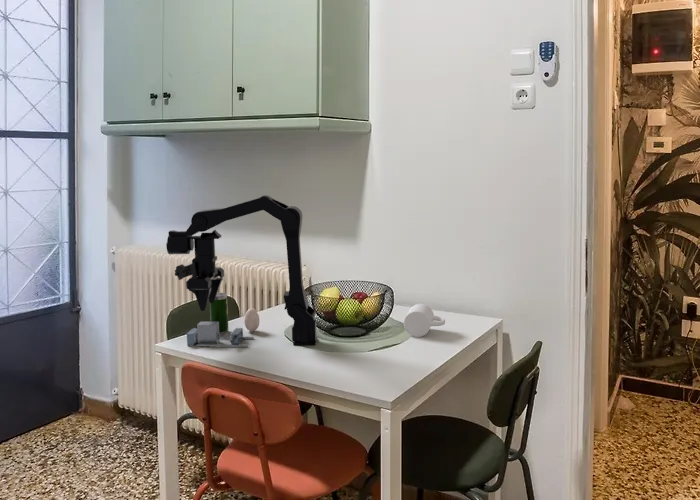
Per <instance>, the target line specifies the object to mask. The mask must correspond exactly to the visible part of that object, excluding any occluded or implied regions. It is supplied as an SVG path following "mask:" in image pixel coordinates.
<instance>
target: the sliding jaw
mask: <svg viewBox="0 0 700 500" xmlns="http://www.w3.org/2000/svg"><path fill="white" fill-rule="evenodd" d="M243 330H244V329H243V327H242V328H241V327H240V328H238V327H237V328H235V329H233V331H232V332H231V333H230V336H229V337H231V339H229V342H230V345H241V342H242V341H243V340H244V339H243V337H244V331H243Z"/></svg>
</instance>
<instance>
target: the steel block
mask: <svg viewBox="0 0 700 500" xmlns="http://www.w3.org/2000/svg"><path fill="white" fill-rule="evenodd" d="M196 326H197V333H198V342H197V344H217V343H218V342H219V343H220V341H221V339H220V337H221V336H220V334H219V322H211V321H199V322H198V323H197V325H196ZM219 343H218V344H219Z"/></svg>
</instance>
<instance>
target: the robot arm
mask: <svg viewBox="0 0 700 500" xmlns="http://www.w3.org/2000/svg"><path fill="white" fill-rule="evenodd" d="M262 211H264V212H266V213H268V214H269V215H270V216H272V217H273V218H275V219H277V220H279V221H280V225H281V229H282V232H283V234H284V237H285V242H286V256H287V257H286V258H287V268H288V269H287V270H288V280H289V281H288V282H289V288H288V290H286V291H285V293H284V294H283V301H284V304H285V305H284V310H286V313H287V315H288V316H289V317H290V318H291V319H292V320H293V325H292V327H291V340H292V345H294V346H315V345H317V341H318V336H317V320H316V319H315V316H316V313H317V311H316V310H315V309H314V308H313V307H312V306H311V305H309V300H308V297H307V292H306V290H305V287H304V282H303V267H302V254H301V253H302V251H301V239H300V238H301V232H302V225H303V211H302V210H301V209H300V208H299V207H297V206H296V205H295V206H293V205H291V206H289V205H287V204H285V203H283V202H281V201H279V200H276V199H274V198H272V197H271V196H270V195H266V194H265V195H262V196H260V197H257V198H254V199H250V200H247V201H244V202H241V203H237V204H233V205H231V206H230V205H229V206H226V207H220V208H210V209H202V210H199V211H197V212H195V213H194V214H193V215H192V217H191V223H190V225H189V227H188V228H187V229H186V230H169V231H168V236H167V240H166V244H165V245H166V252H167V254H168V255H190V253H191V251H192V252H193V250H194V258H192V260H191V263H188V264H185V265H184V264H183V263H182V264H179V265H177V266H175V269H174V276H175V277H177V278H178V281H181V280H183V279H184V278H187V277H189V276H191V277H190V278H188V280H187V281H186V282H185V286H186V287H185V288H186V289H187V290H188V291H189V292H191V293H193V294H194V295H195V299H196V301H197V304H198V307H199V310H200V311H201V312H205V311H206V308H207V304H208V302H209V304H210V303H214V300H215V297H216V295H217V293H219V289H220V287H221V285H222V282H223V278H224V277H225V270H224V269H223V268H222V267H220V266H219V267H216V266H217V264H216V261H218V256H217V255H216V245H215V244H216V243H215V240H219V239H220V238H222V234H220V233H219V232H218V231H217V230H216V229H214V230H212V231H211V232H206V231H209V230H210V229H212V228H214V227H217V226H218V225H220V224H222V223H224V222H226V221H230V220H234V219H237V218H242V217H244V216H247V215H251V214H254V213H258V212H262ZM200 232H201V234H200V235H196V234H198V233H200Z"/></svg>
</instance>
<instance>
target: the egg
mask: <svg viewBox="0 0 700 500" xmlns="http://www.w3.org/2000/svg"><path fill="white" fill-rule="evenodd" d="M243 319H244V322H243V323H244V326H245V328H246V330H247V331H249V332H250V333H252V332H255V331H257V329H259V326H260V315H259V314H258V312H257V310H256V309H255V308H253V307H252V308H249V309H248V310H247V311H246V312H245V315H244V318H243Z"/></svg>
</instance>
